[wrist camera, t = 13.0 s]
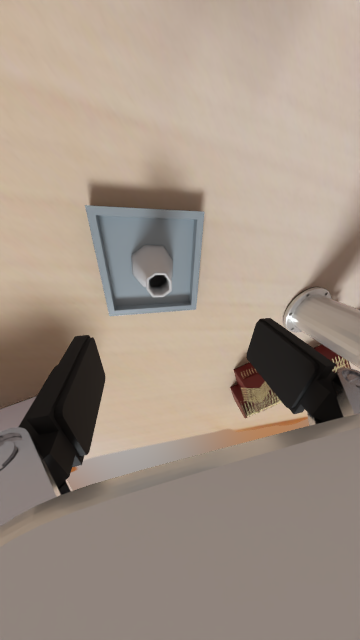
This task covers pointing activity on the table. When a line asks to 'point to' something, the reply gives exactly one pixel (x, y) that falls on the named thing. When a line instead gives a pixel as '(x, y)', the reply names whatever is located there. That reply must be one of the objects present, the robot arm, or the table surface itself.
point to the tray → (132, 234)
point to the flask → (153, 269)
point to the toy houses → (257, 392)
